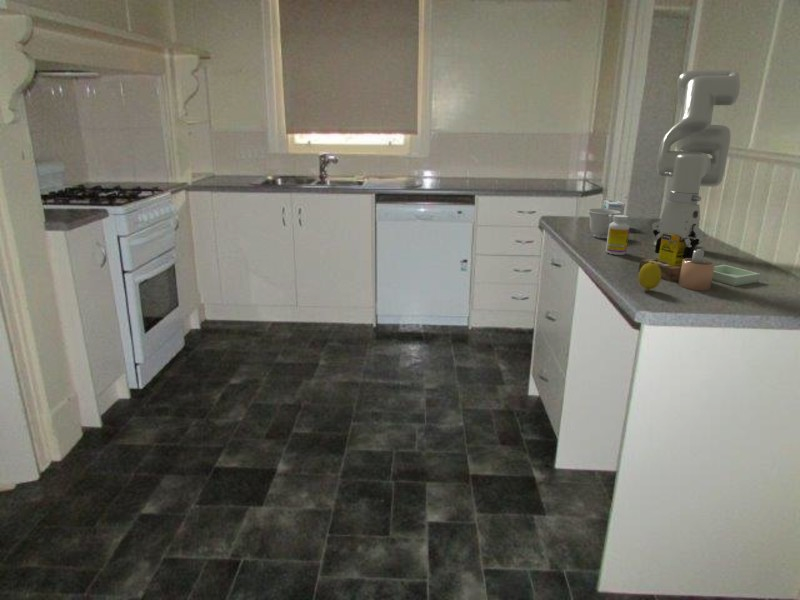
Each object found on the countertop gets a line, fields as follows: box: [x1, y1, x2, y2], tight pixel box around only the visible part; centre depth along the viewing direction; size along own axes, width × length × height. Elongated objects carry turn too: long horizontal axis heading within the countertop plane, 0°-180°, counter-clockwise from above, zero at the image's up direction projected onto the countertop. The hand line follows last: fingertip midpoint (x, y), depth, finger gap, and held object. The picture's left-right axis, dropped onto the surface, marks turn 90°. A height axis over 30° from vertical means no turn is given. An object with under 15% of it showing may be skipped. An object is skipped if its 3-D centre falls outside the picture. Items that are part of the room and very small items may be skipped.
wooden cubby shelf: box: [638, 257, 681, 282], centre depth 170 cm, size 14×11×4 cm
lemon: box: [637, 262, 662, 291], centre depth 151 cm, size 6×6×8 cm
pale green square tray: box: [712, 264, 761, 287], centre depth 165 cm, size 11×11×2 cm
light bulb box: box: [602, 199, 626, 215], centre depth 240 cm, size 11×7×11 cm, turn 172°
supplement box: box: [657, 233, 687, 267], centre depth 168 cm, size 6×6×11 cm
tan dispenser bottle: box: [678, 248, 716, 291], centre depth 156 cm, size 8×8×10 cm
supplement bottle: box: [605, 214, 631, 256], centre depth 192 cm, size 7×7×13 cm
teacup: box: [587, 208, 621, 239], centre depth 218 cm, size 12×15×10 cm
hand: (672, 256), depth 169 cm, fingers open, 9 cm apart
